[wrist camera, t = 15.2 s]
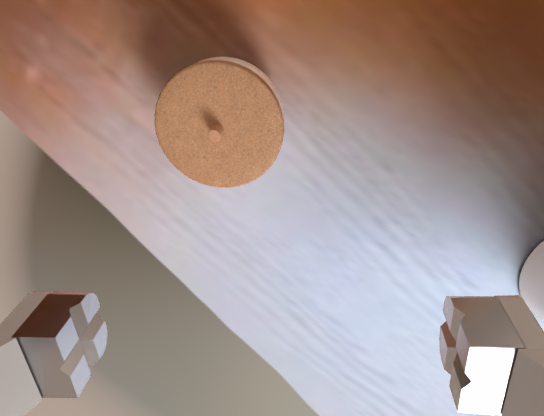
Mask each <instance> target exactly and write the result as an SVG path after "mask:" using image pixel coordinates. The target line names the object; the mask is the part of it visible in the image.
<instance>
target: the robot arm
mask: <svg viewBox="0 0 544 416" xmlns="http://www.w3.org/2000/svg"><path fill="white" fill-rule="evenodd" d="M519 290H520V295H521V297H520V296H519V295H515V296H494V297H492V296H446V299H445V301H444V306H443V313H444V315H445V318H446V322H445V323H444V324H443V325H442V326H441V328H440V337H439V341H440V354H441V359H442V363H443V366H444V369H445V370H446V371H447V372H448V373H449V374H451V379H450V389H451V392H452V396H453V399H454V402H455V405H456V408H457V411H458V412H460V413H476V414H491V415H501V416H544V331H543V330H542V328H541V327H540V325H539V323H538V322H537V320H536V319H535V317H534V315H533V314H532V313H534V314H535V315H536V316H537V317H539V318H540V319H541V320H542V321H543V322H544V241H542V242H541V243H540V244H539V245H538V246H537V247H536V248H535V249H534V250H533V252H532V253H531V254H530V255H529V257H528V258H527V260H526V262H525V264H524V266H523V268H522V271H521V274H520V279H519ZM99 308H100V304H99V302H98V298H97V296H96V295H95V294H93V293H88V292H58V291H54V292H50V291H49V292H47V291H34V292H31V293H28V294H27V295H26V297H25V298H24V299H23V300H22V301H21V302H20V303H19V304H18V305H17V307H15V309H14V310H13V311H12V312H11V313H10V314H9V315H8V316H7V317H6V318H5V319H4V321H3V322H2V323H1V324H0V416H23V415H24V414H26V413H27V412H28V411H30V410H31V409H32V408H33V407H34V406H36V405H37V404H38V403H39V402H40V401H41V400H42V398H78V397H79V395H80V393H81V392H82V390H83V388H84V386H85V385H86V383H87V381H88V379H89V378H90V376H91V372H90V369H89V367H90V366H91V365H93V364H94V363H96V362H97V361H99V360H100V358H101V356H102V354H103V353H104V351H105V347H106V342H107V327H106V324H105V321H104V320H103V319H102V318H101V317H100V316H99V315H98V314H97V311H98V309H99Z"/></svg>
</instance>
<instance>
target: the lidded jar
mask: <svg viewBox="0 0 544 416" xmlns="http://www.w3.org/2000/svg"><path fill="white" fill-rule="evenodd" d="M155 129H156V135H157V138H158V141H159V144H160V146H161V148H162V150H163V152H164V153H165V155H166V156H167V158H168V159H169V160H170V162H171V163H172V164H173V165H174V166H175V167H176V168H177V169H178V170H179V171H181V172H182V173H183V174H184V175H186V176H188V177H189V178H191V179H192V180H195V181H197V182H199V183H202V184H205V185H209V186H214V187H235V186H240V185H243V184H246V183H249V182H251V181H253V180H255V179H257V178H258V177H259V176H261V175H262V174H264V173H265V172H266V171H267V170H268V169H269V168H270V166H271V165H272V164H273V162H274V161H275V159H276V157H277V155H278V153H279V151H280V148H281V145H282V141H283V134H284V113H283V108H282V103H281V100H280V97H279V94H278V92H277V90H276V88H275V86H274V84H273V83H272V82H271V81H270V79H269V78H268V77H267V76H266V75H265V74H264V73H263V72H262V71H261V70H260V69H258V68H257V67H255V66H254V65H252V64H250V63H248V62H246V61H244V60H240V59H237V58H232V57H213V58H208V59H204V60H201V61H199V62H196V63H194V64H192V65H190V66H187V67H186V68H184V69H182V70H181V71H179V72H178V73H177V74H176V75H174V76H173V77H172V78H171V79H170V80H169V81H168V83H167V84H166V85H165V86H164V88H163V90H162V92H161V94H160V95H159V98H158V101H157V104H156V110H155Z"/></svg>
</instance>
